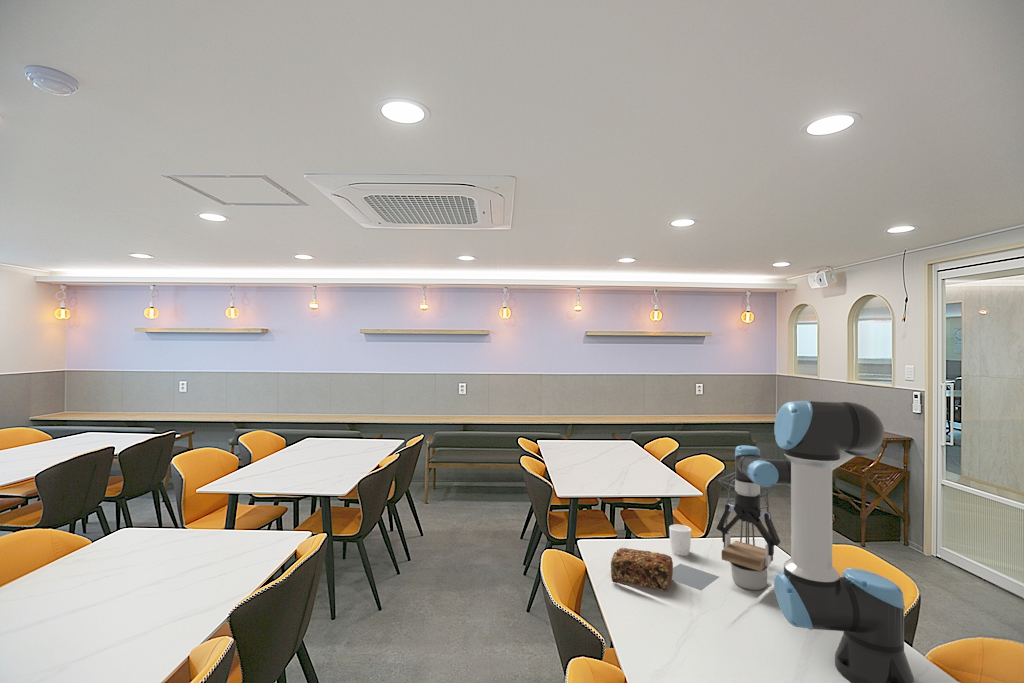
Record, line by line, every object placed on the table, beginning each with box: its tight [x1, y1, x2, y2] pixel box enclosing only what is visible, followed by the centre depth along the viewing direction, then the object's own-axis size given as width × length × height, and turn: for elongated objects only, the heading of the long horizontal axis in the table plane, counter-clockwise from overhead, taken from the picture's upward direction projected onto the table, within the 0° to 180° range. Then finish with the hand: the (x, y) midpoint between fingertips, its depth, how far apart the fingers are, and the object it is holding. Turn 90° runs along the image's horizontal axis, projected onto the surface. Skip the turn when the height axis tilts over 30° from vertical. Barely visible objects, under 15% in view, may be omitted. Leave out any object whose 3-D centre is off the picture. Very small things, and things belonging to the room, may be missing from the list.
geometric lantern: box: [717, 471, 780, 549], centre depth 178 cm, size 16×16×35 cm
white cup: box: [668, 523, 692, 557], centre depth 186 cm, size 8×8×10 cm
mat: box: [672, 563, 720, 591], centre depth 165 cm, size 14×14×1 cm
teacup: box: [730, 562, 768, 591], centre depth 162 cm, size 14×11×8 cm
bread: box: [610, 547, 674, 592], centre depth 163 cm, size 19×11×10 cm, turn 62°
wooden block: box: [721, 540, 774, 571], centre depth 162 cm, size 12×12×3 cm
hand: (747, 558), depth 162 cm, fingers closed on wooden block, 12 cm apart
